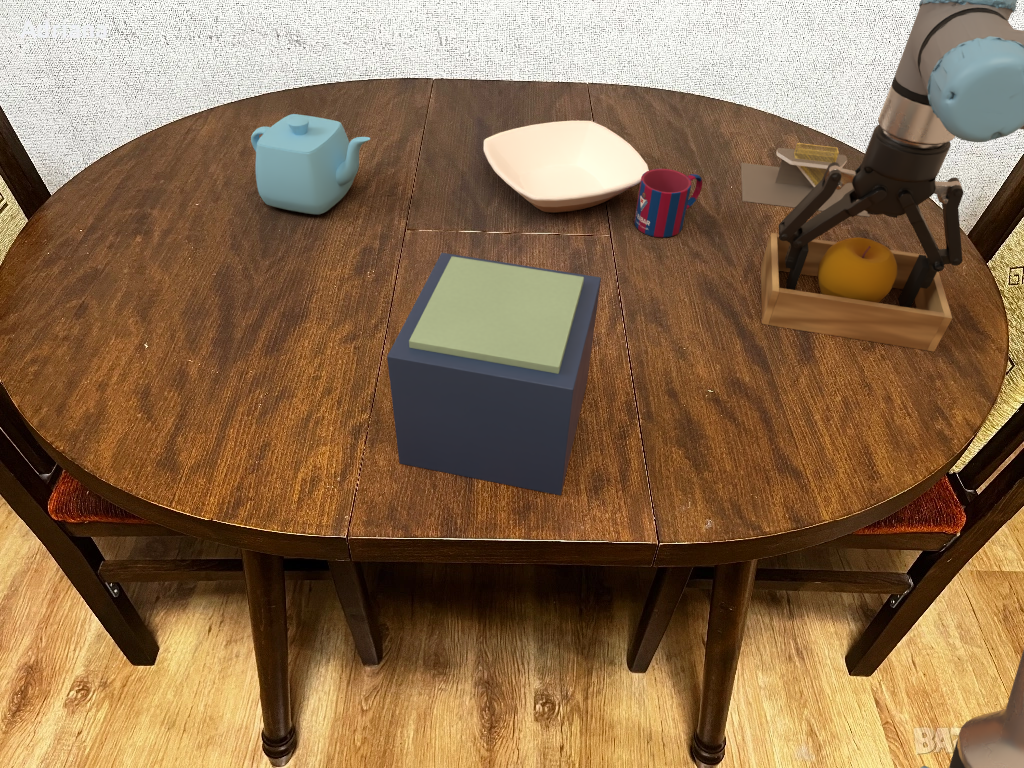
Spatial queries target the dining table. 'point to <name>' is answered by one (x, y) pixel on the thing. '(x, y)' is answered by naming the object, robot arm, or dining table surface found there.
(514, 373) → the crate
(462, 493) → the dining table surface
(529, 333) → the mat
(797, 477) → the dining table surface
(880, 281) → the apple
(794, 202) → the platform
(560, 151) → the bowl
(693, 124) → the dining table surface
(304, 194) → the teapot
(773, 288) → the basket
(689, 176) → the mug
